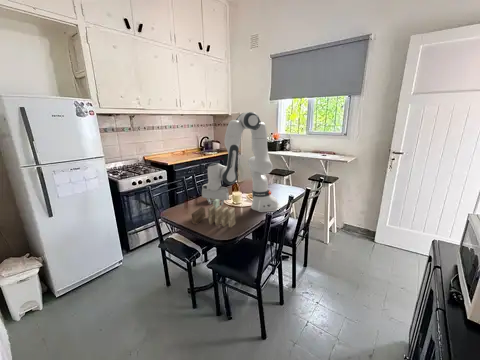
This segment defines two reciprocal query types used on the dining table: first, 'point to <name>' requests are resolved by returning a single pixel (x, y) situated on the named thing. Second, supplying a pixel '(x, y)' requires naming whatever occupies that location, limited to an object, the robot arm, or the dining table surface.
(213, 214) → the maple domino
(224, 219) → the maple domino
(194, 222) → the end stop
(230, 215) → the maple domino
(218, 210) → the maple domino
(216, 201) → the sage domino
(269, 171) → the robot arm
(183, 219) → the dining table surface
